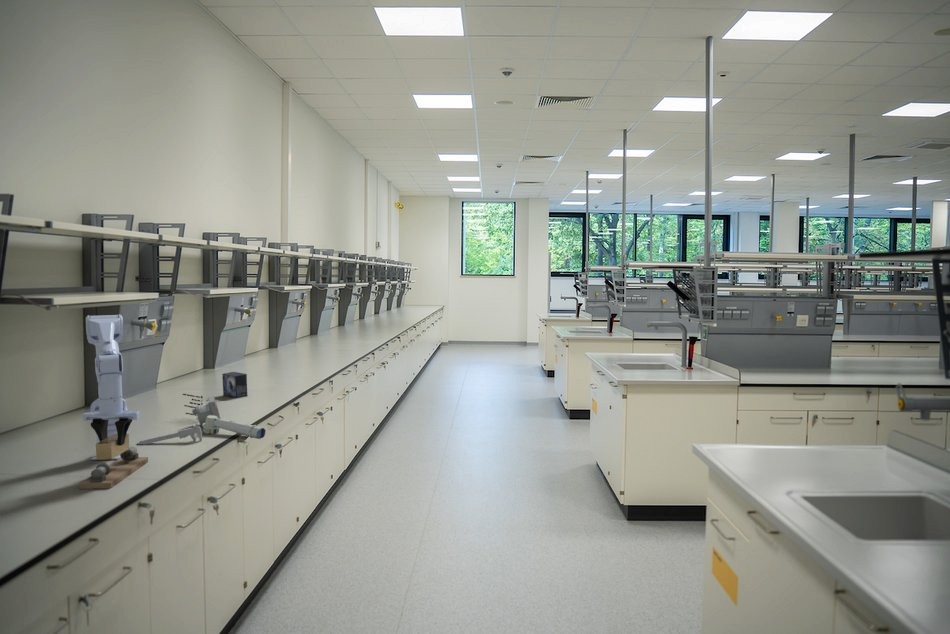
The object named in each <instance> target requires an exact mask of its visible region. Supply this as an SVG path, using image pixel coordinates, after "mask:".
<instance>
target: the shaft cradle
mask: <svg viewBox="0 0 950 634" xmlns="http://www.w3.org/2000/svg"><path fill="white" fill-rule="evenodd" d="M120 457H121V458H119V459H115V460H114V461H113V462H111V463H110V464H109V463H107V462H100V463H98V464H97V466H95V469H93V470H91V473H90V476H89V477H88V478H86V479H84V480H82V481H81V482H79V485H78V487H79V490H91V489H92V490H93V488H97V489H112V488H113V487H115V486H116V485H118V484H119V483H120V481H121V480H122V481H124V480H125V479H126V478H128V477H129V476H130V475H132V474H133V473H135V472H136V471H138V470H139V469H140V468H142V467H143V466H144V465H146V464H147V463H148V462H149V457H148V456H144V457H142V456H141V457H140V456H139V452H138V449H137V448H136V447H135V446H131V447H130V446H129V449H128V450H126V451H125V452H123V453H122V454H120ZM127 476H128V477H127ZM124 478H125V479H124ZM122 481H121V482H122ZM117 483H118V484H117ZM114 485H115V486H114ZM111 487H112V488H111Z"/></svg>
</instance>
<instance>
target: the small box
mask: <svg viewBox="0 0 950 634" xmlns="http://www.w3.org/2000/svg"><path fill="white" fill-rule="evenodd" d="M247 376H248V374H247V373H244V372H237V371H231V372H224V373H222V395H223V396H224V397H230V398H233V399H240V398H245V397H248V379H247Z"/></svg>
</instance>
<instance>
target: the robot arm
mask: <svg viewBox="0 0 950 634" xmlns="http://www.w3.org/2000/svg"><path fill="white" fill-rule="evenodd" d="M85 331H86V333H85V334H86V339H87V341H88V344H91V345H94V347H95V355H96V357H95V358H94V363H95V365H94V367H95V368H94V369H95V375H96V381H97V393H98V394H97V395H98V398H97V399H95V400H94V401H93V402H92V403H91V404H90V412H83V413H82V416H81V417H82V421H83V422H87V421H90V428H92V430H94V432H95V433H96V443H98V442H100V441H102V440H104V439H106V438H108V437H109V436H111V435H113V434H118V445H119V446H121V445H123V444H124V443H125V437H126V434H129V428H130V425H131V423H132V422H133V420H139V419H140V418H141V411H137V410H136V411H135V410H132V411H131V410H128V405H127V401H126V400H125V399H124V398H123V383H122V382H123V380H122V378H123V377H122V374H123V372H124V362H123V361H124V360H123V356H122V353H121V352H120V348H119V343H120V342H122V340H123V339H122V338H123V337H124V336H123V335H124V319H123V315H121V313H120V314H112V315H111V314H107V315H89V314H88V315H87V316H85ZM119 458H121V457H120V455H118V456H117V457H115V458H113V459H112V460H118V459H119ZM95 460H97V459H96V455H94V456H93V457H91V461H95ZM97 461H98V460H97Z"/></svg>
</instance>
